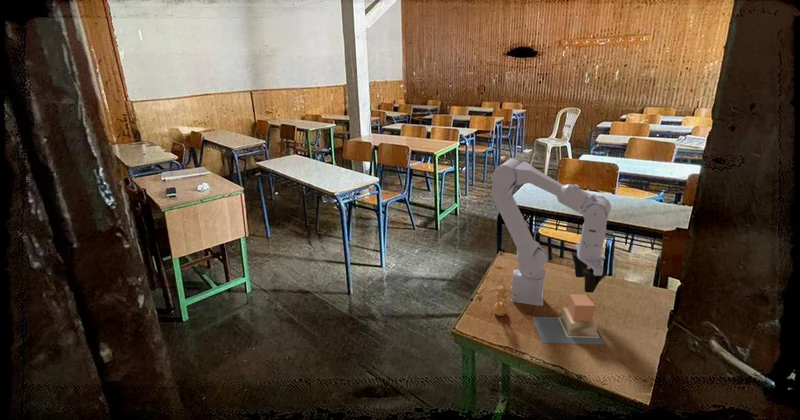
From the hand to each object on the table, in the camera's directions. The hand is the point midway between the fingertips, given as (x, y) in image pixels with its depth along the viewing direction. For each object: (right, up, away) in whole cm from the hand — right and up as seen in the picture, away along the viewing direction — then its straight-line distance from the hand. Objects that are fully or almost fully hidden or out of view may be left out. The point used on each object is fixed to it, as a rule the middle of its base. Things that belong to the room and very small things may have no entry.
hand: (584, 284), depth 117 cm
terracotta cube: (-3, -8, -4) cm, 9 cm away
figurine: (-23, -10, +3) cm, 26 cm away
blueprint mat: (-6, -12, -3) cm, 14 cm away
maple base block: (-3, -12, -3) cm, 12 cm away
